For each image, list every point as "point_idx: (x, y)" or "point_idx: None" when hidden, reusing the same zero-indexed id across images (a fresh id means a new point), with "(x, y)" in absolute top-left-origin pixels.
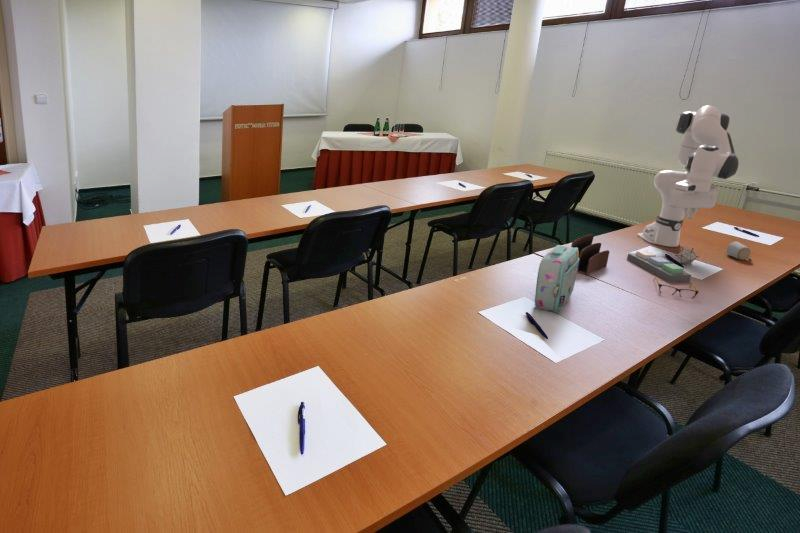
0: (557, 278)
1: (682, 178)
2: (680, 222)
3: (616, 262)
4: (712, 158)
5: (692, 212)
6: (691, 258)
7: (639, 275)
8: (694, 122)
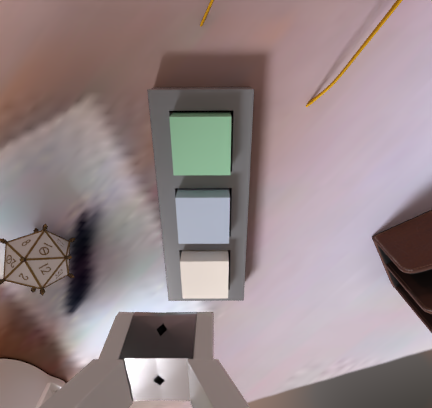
0: None
1: None
2: None
3: (304, 262)
4: None
5: (104, 402)
6: (36, 236)
7: (321, 155)
8: None
